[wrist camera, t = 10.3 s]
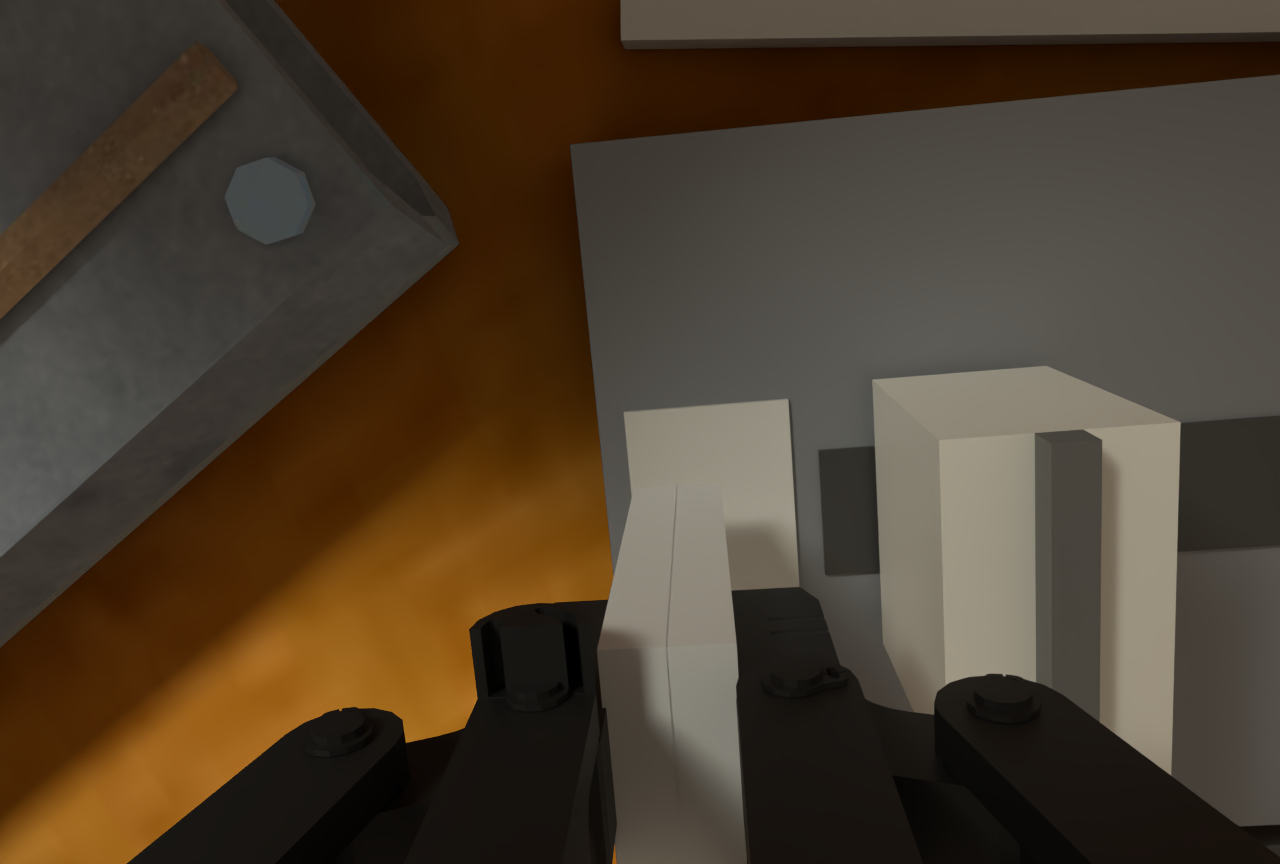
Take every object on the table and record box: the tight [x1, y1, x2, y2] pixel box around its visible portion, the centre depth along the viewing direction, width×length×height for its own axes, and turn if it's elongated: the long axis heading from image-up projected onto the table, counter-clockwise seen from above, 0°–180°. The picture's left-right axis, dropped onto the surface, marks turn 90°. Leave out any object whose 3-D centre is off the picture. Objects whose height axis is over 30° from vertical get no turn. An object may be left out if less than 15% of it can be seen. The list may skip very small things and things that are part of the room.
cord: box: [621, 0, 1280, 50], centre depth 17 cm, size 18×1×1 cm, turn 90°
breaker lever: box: [872, 366, 1181, 775], centre depth 15 cm, size 3×5×5 cm, turn 5°
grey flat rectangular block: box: [570, 75, 1280, 826], centre depth 19 cm, size 20×14×2 cm
